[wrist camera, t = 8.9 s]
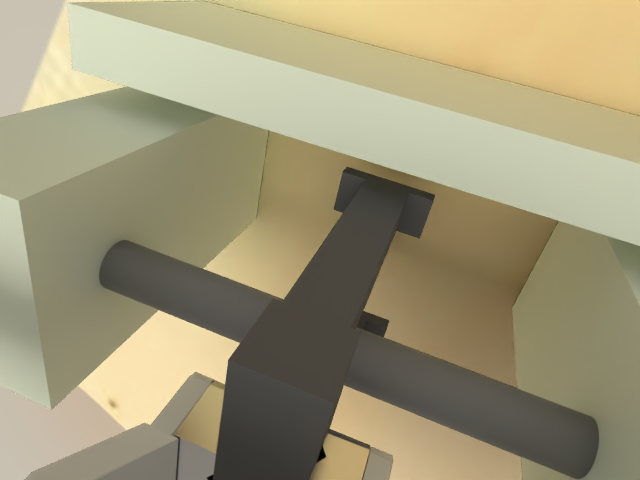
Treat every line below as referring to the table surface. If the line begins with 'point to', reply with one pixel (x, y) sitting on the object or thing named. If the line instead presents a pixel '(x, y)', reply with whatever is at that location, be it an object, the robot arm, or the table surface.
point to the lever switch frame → (242, 203)
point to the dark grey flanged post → (311, 338)
